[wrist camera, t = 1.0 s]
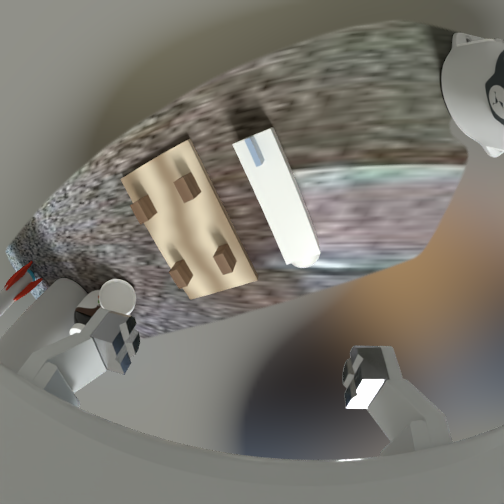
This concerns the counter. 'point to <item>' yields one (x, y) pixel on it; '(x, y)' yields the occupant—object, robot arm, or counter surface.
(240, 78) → the counter surface
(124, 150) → the counter surface
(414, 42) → the counter surface
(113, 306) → the spread jar
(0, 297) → the toy rocket
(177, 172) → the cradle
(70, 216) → the counter surface
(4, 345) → the cylinder vase
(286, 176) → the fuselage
